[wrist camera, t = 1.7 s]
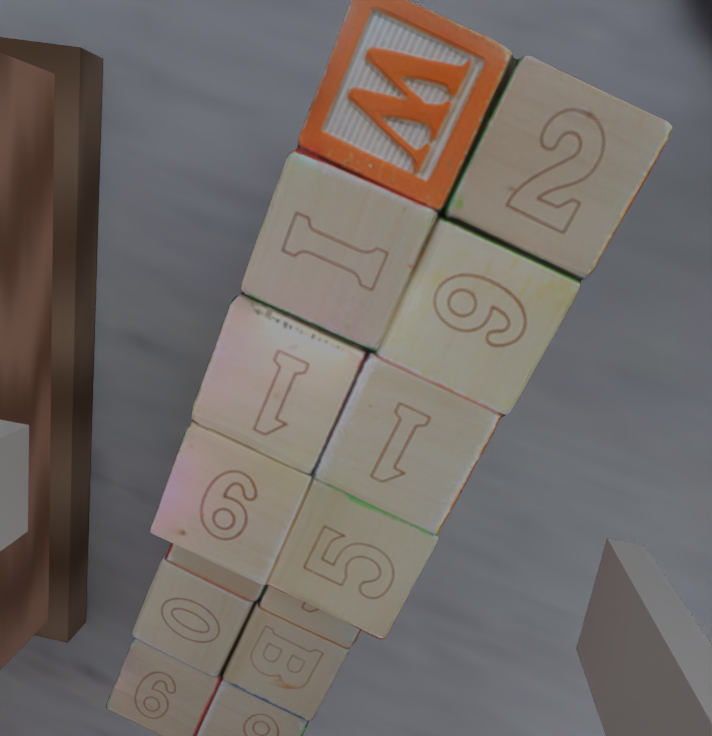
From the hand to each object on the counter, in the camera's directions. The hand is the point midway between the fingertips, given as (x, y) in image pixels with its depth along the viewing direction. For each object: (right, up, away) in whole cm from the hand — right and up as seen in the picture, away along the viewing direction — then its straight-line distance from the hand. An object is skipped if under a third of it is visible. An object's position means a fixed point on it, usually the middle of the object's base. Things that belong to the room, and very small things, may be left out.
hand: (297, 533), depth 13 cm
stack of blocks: (+1, +3, +12) cm, 12 cm away
